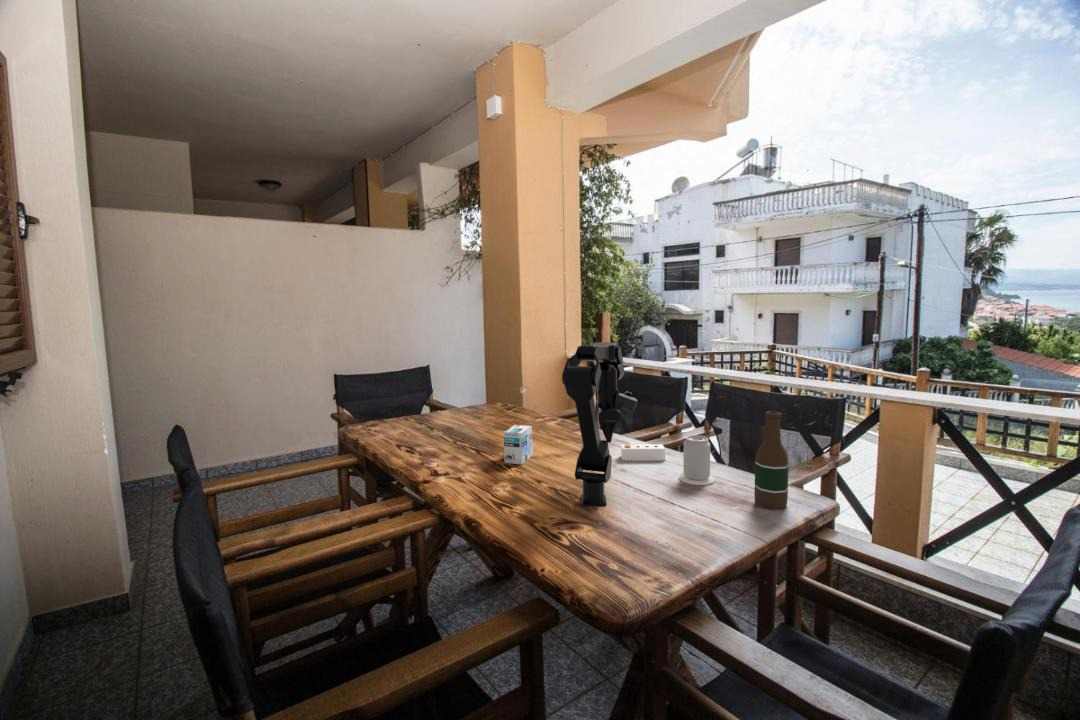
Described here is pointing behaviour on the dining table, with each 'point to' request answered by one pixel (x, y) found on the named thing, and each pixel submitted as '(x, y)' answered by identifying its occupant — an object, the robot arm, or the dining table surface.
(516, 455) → the light bulb box
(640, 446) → the power strip
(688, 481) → the coaster
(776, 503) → the beer bottle
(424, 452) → the dining table surface
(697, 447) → the can
